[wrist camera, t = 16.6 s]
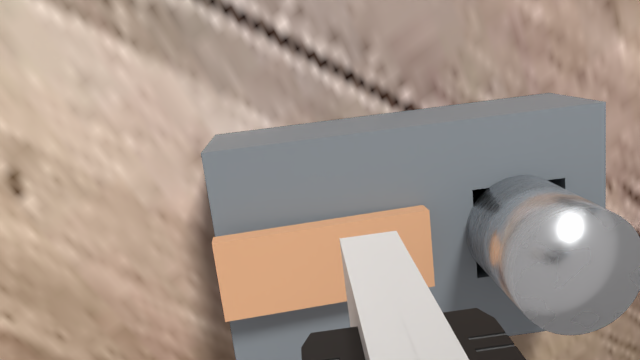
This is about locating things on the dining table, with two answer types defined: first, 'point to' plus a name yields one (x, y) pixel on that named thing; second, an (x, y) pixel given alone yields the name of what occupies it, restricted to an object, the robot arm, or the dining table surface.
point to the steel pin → (555, 253)
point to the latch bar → (307, 261)
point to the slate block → (400, 190)
